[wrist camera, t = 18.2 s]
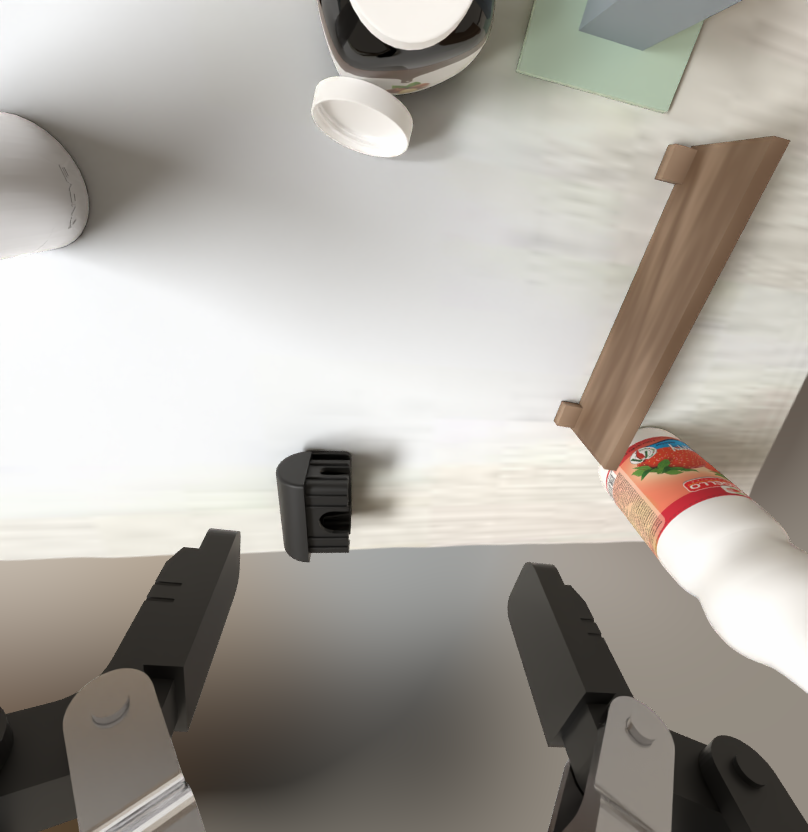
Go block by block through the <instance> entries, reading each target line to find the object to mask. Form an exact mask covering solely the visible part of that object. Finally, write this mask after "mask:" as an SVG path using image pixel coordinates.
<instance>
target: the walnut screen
mask: <svg viewBox="0 0 808 832" xmlns="http://www.w3.org/2000/svg"><path fill="white" fill-rule="evenodd" d="M789 142H790V140H787V139H783V138H780V137H776V136H770V137H762V138H754V139H746V140H738V141H731V142H723V143H715V144H707V145H699V146H691V148H689V147H686V146H682V145H678V144H673V145H668V148H667V150H666V152H665V155H664V157H663V160H662V162H661V164H660V167H659V169H658V172H657V174H656V176H655V179H656V180H660V181H664V182H668V183H672V184H675V185H674V188H673V190H672V192H671V194H670V197H669V199H668V201H667V203H666V206H665V208H664V210H663V213H662V215H661V217H660V219H659V222H658V224H657V226H656V229H655V231H654V233H653V235H652V238H651V240H650V242H649V245H648V247H647V249H646V251H645V254H644V256H643V258H642V261H641V263H640V265H639V267H638V270H637V272H636V274H635V277H634V279H633V281H632V283H631V286H630V288H629V290H628V293H627V295H626V297H625V299H624V302H623V304H622V306H621V308H620V311H619V313H618V315H617V318H616V320H615V322H614V324H613V327H612V329H611V331H610V334H609V336H608V338H607V340H606V343H605V345H604V347H603V350H602V352H601V354H600V356H599V359H598V361H597V363H596V366H595V368H594V370H593V372H592V375H591V377H590V379H589V382H588V384H587V386H586V388H585V391H584V393H583V395H582V398H581V400H580V402H579V404H577V403H571V402H565V401H562V402H561V405H560V407H559V409H558V412H557V414H556V417H555V419H554V422H555V423H556V425H557V426H563V427H570V428H571V429H572V430H573V431H574V433H575V434H576V435H577V436H578V438H579V439H580V440H581V441H582V443H583V444H584V445H585V446H586V447H587V449H588V450H589V451H590V452H591V454H592V455H593V456H594V457H595V459H596V460H597V461H598V462H599V464H600V465H601V466H602V467H603V468H604V469H605V470H612V471H617V469H618V467H619V465H620V463H621V461H622V459H623V457H624V455H625V453H626V452H627V450H628V448H629V446H630V444H631V442H632V440H633V438H634V436H635V435H636V433H637V431H638V429H639V427H640V425H641V423H642V421H643V419H644V417H645V416H646V414H647V412H648V410H649V408H650V406H651V404H652V402H653V400H654V398H655V397H656V395H657V393H658V391H659V389H660V387H661V385H662V383H663V381H664V379H665V378H666V376H667V374H668V372H669V370H670V368H671V366H672V364H673V362H674V360H675V359H676V357H677V355H678V353H679V351H680V349H681V347H682V345H683V343H684V342H685V340H686V338H687V336H688V334H689V332H690V330H691V328H692V326H693V324H694V323H695V321H696V319H697V317H698V315H699V313H700V311H701V309H702V307H703V305H704V304H705V302H706V300H707V298H708V296H709V294H710V292H711V290H712V288H713V286H714V285H715V283H716V281H717V279H718V277H719V275H720V273H721V271H722V269H723V268H724V266H725V264H726V262H727V260H728V258H729V256H730V254H731V252H732V250H733V249H734V247H735V245H736V243H737V241H738V239H739V237H740V235H741V233H742V231H743V230H744V228H745V226H746V224H747V222H748V220H749V218H750V216H751V214H752V212H753V211H754V209H755V207H756V205H757V203H758V201H759V199H760V197H761V195H762V193H763V192H764V190H765V188H766V186H767V184H768V182H769V180H770V178H771V176H772V175H773V173H774V171H775V169H776V167H777V165H778V163H779V161H780V159H781V157H782V156H783V154H784V152H785V150H786V148H787V146H788V144H789Z"/></svg>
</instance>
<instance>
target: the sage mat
mask: <svg viewBox="0 0 808 832" xmlns="http://www.w3.org/2000/svg"><path fill="white" fill-rule="evenodd" d="M587 1H588V0H534V4H533V8H532V12H531V16H530V19H529V23H528V27H527V31H526V35H525V39H524V43H523V47H522V50H521V54H520V58H519V62H518V66H517V70H516V72H518V73H522V74H525V75H529V76H532V77H536V78H539V79H543V80H546V81H550V82H553V83H557V84H561V85H564V86H568V87H571V88H575V89H578V90H582V91H585V92H589V93H592V94H596V95H599V96H603V97H607V98H610V99H614V100H617V101H621V102H624V103H628V104H631V105H635V106H638V107H642V108H646V109H649V110H653V111H656V112H660V113H666V112H667V111H668V109H669V106H670V104H671V102H672V99H673V97H674V94H675V92H676V89H677V87H678V84H679V82H680V79H681V77H682V74H683V72H684V69H685V67H686V64H687V62H688V59H689V57H690V54H691V52H692V49H693V47H694V44H695V42H696V39H697V37H698V34H699V32H700V29H701V27H702V25H703V22H704V20H705V19H704V20H702V21H700V22H698V23H696V24H694V25H692V26H691V27H689V28H687V29H685V30H683V31H681V32H679V33H677V34H675V35H673V36H671V37H669V38H667V39H665V40H663V41H661V42H659V43H657V44H655V45H653V46H651V47H649V48H647V49H645V50H643V51H642V50H638V49H635V48H632V47H629V46H626V45H623V44H619V43H616V42H613V41H610V40H607V39H604V38H600V37H597V36H594V35H591V34H588V33H584V32H581V31H578V30H579V27H580V24H581V21H582V17H583V14H584V11H585V7H586V4H587Z"/></svg>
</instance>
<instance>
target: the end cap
mask: <svg viewBox="0 0 808 832" xmlns="http://www.w3.org/2000/svg"><path fill="white" fill-rule="evenodd" d="M276 478H277V487H278V496H279V505H280V514H281V522H282V531H283V540H284V548H285V550H286V552H287V553H288V554H289V556H291V557H292V558H293V559H296V560H298V561H302V562H310V556H311V553H344V552H345V553H346V552H347V553H348V552H349V544H350V540H349V534H350V531H351V513H352V506H351V455H350V453H348V452H345V451H307V452H300V453H296V454H293V455H291V456H289V457H287V458H285V459H284V460H283V461H281V463H280V464H279V465H278V467H277V470H276Z"/></svg>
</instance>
